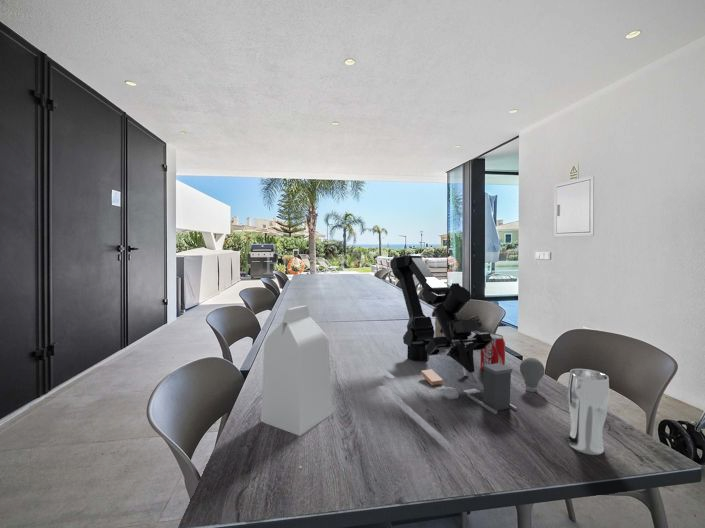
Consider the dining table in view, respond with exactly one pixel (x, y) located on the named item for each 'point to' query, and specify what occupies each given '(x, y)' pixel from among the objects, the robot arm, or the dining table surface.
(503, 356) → the soda can
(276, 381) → the milk
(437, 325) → the carving
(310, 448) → the dining table surface
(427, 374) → the rocker
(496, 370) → the grey lidded box
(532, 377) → the light bulb
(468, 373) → the lever
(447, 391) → the panel
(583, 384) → the beer glass
